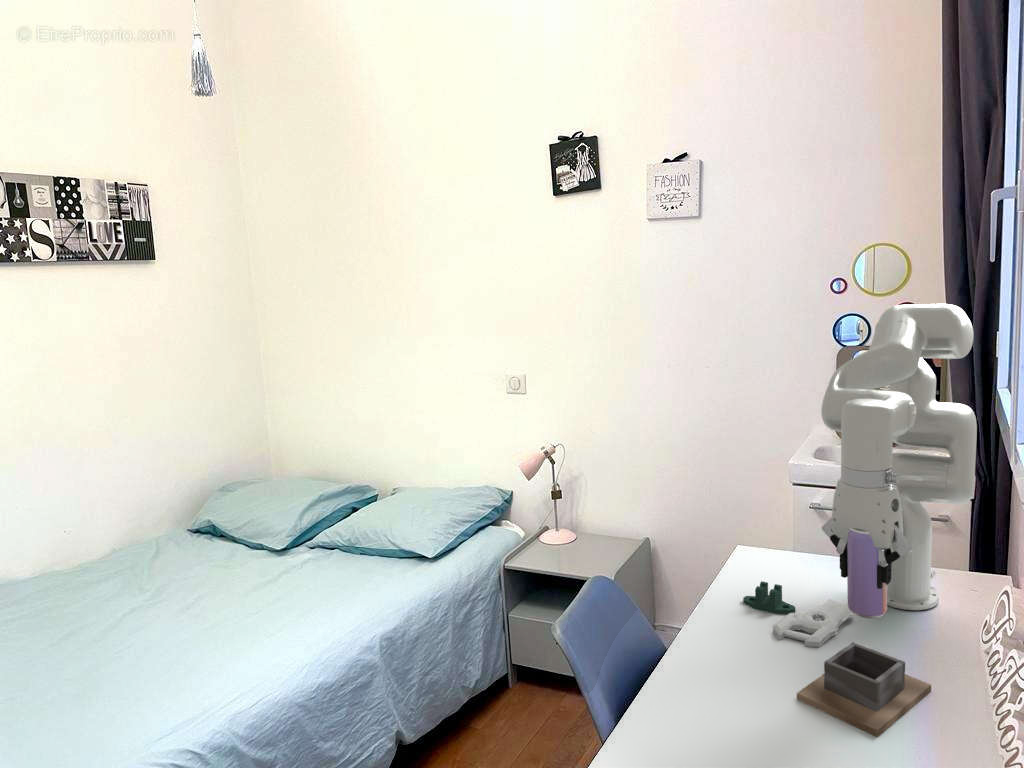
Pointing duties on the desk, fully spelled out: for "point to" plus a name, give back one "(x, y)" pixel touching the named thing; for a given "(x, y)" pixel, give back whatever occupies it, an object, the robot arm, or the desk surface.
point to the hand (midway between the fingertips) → (864, 579)
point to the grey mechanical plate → (814, 623)
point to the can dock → (864, 689)
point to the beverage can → (864, 576)
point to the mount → (769, 600)
